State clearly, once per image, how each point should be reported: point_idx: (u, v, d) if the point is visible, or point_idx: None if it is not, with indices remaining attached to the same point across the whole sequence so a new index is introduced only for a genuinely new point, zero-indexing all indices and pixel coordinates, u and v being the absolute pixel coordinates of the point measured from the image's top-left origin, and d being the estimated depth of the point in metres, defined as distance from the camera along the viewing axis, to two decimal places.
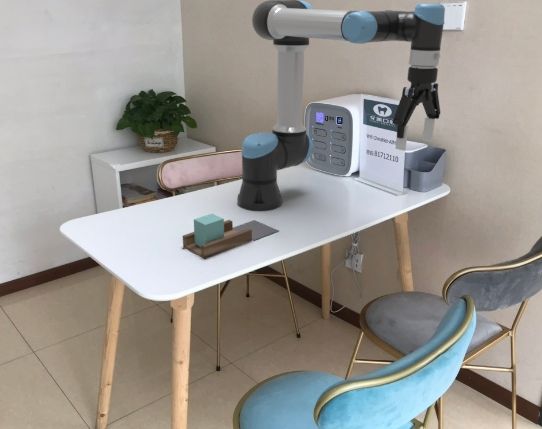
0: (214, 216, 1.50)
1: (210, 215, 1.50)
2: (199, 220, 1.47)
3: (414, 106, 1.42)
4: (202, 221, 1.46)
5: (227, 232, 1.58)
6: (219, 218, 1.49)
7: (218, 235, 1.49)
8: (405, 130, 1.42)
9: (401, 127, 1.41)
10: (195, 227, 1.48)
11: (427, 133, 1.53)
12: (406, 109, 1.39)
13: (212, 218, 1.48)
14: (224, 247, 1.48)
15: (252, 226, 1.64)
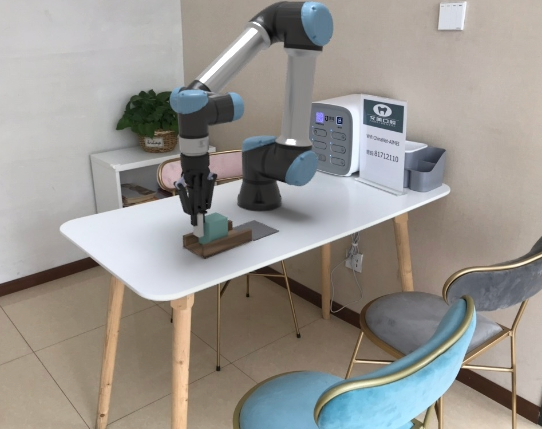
0: (218, 215, 1.51)
1: (214, 214, 1.51)
2: None
3: (195, 194, 1.41)
4: (206, 220, 1.47)
5: None
6: (223, 217, 1.49)
7: (222, 233, 1.50)
8: (198, 218, 1.44)
9: (193, 216, 1.43)
10: None
11: None
12: (187, 201, 1.39)
13: (216, 217, 1.49)
14: (224, 247, 1.48)
15: (252, 226, 1.64)
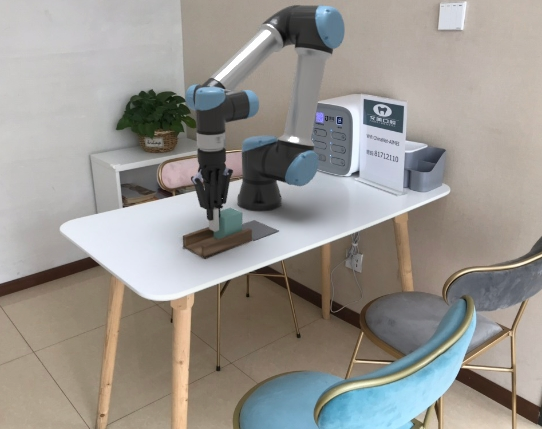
0: (233, 210, 1.54)
1: (229, 209, 1.55)
2: None
3: (211, 188, 1.44)
4: (221, 215, 1.51)
5: None
6: (238, 212, 1.53)
7: (237, 228, 1.53)
8: (213, 213, 1.47)
9: (209, 210, 1.47)
10: None
11: None
12: (203, 196, 1.43)
13: (231, 212, 1.53)
14: (224, 247, 1.48)
15: (252, 226, 1.64)
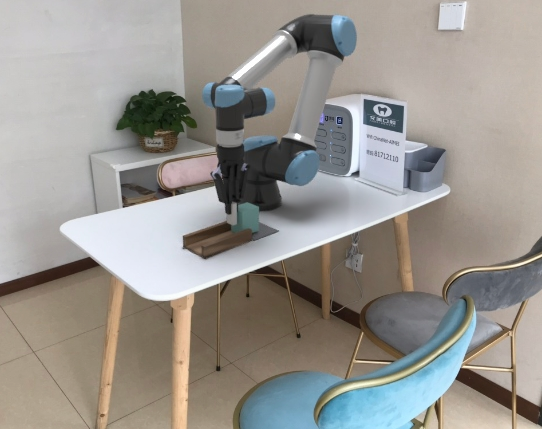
0: (249, 204, 1.58)
1: (246, 204, 1.59)
2: None
3: (230, 183, 1.48)
4: (239, 209, 1.55)
5: (227, 232, 1.58)
6: (254, 206, 1.57)
7: (254, 222, 1.57)
8: (232, 207, 1.52)
9: (227, 205, 1.51)
10: None
11: None
12: (222, 190, 1.47)
13: (248, 207, 1.57)
14: (224, 247, 1.48)
15: None
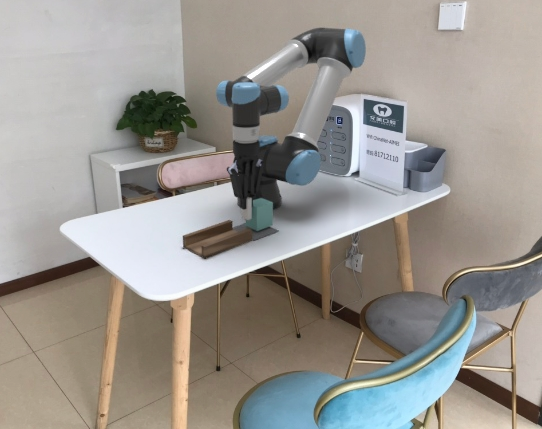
0: (263, 200, 1.62)
1: (259, 199, 1.63)
2: None
3: (245, 179, 1.52)
4: (253, 204, 1.59)
5: (227, 232, 1.58)
6: (268, 202, 1.61)
7: (268, 217, 1.61)
8: (247, 202, 1.55)
9: (242, 200, 1.54)
10: None
11: None
12: (238, 185, 1.51)
13: (262, 202, 1.60)
14: (224, 247, 1.48)
15: None
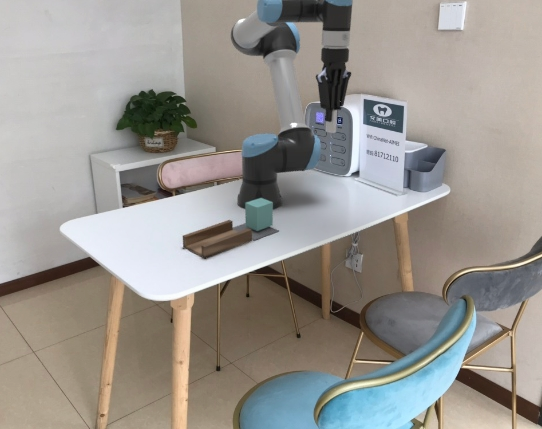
0: (263, 200, 1.62)
1: (259, 199, 1.63)
2: (250, 203, 1.59)
3: (333, 88, 1.49)
4: (253, 204, 1.59)
5: (227, 232, 1.58)
6: (268, 202, 1.61)
7: (268, 217, 1.61)
8: (333, 114, 1.52)
9: (329, 111, 1.52)
10: (246, 210, 1.60)
11: None
12: (326, 94, 1.48)
13: (262, 202, 1.60)
14: (224, 247, 1.48)
15: None
